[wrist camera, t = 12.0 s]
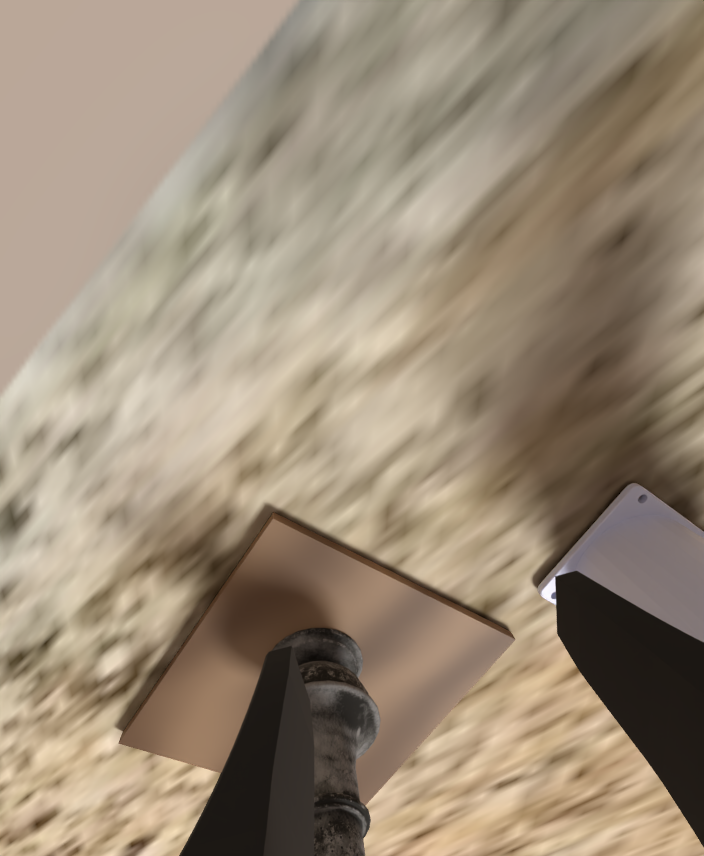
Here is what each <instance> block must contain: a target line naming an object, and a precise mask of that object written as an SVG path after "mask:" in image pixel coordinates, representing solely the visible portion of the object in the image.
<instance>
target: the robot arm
mask: <svg viewBox="0 0 704 856" xmlns="http://www.w3.org/2000/svg"><path fill="white" fill-rule="evenodd" d="M640 496H641V497H640ZM639 497H640V498H639ZM638 498H639V499H638ZM537 590H538V593H539V594H540V595H541V597H543V598H544V599H546V600H548V601H549V602H551V603H553V604H555V605H556V610H557V634H558V636H559V637H560V639H561V641H562V642H563V644H564V646H565V648H566V649H567V651H568V653H569V654H570V656H571V658H572V659H573V661H574V663H575V664H576V666H577V668H578V669H579V671H580V672H581V674H582V675H583V676H584V678H585V679H586V680H587V682H588V683H589V685H590V686H591V687H592V689H593V690H594V691H595V693H596V694H597V695H598V697H599V698H600V699H601V701H602V702H603V703H604V705H605V706H606V707H607V709H608V710H609V711H610V712H611V714H612V715H613V716H614V718H615V719H616V720H617V722H618V723H619V724H620V726H621V727H622V728H623V730H624V731H625V732H626V734H627V735H628V736H629V738H630V739H631V740H632V741H633V743H634V744H635V745H636V747H637V748H638V749H639V751H640V752H641V753H642V755H643V756H644V757H645V759H646V760H647V761H648V763H649V764H650V766H651V767H652V768H653V770H654V771H655V773H656V774H657V775H658V777H659V778H660V780H661V781H662V783H663V784H664V786H665V787H666V789H667V790H668V792H669V793H670V795H671V797H672V798H673V800H674V801H675V803H676V804H677V806H678V807H679V809H680V810H681V812H682V814H683V815H684V817H685V818H686V820H687V821H688V823H689V824H690V826H691V828H692V829H693V831H694V832H695V834H696V836H697V837H698V839H699V840H700V842H701V844H702V845H703V847H704V531H702V530H701V529H700V528H698V527H697V526H695V525H694V524H693V523H691V522H690V521H689V520H687V519H686V518H685V517H683V516H682V515H680V514H679V513H678V512H676V511H675V510H674V509H672V508H671V507H670V506H668V505H667V504H665V503H664V502H663V501H661V500H660V499H659V498H657V497H656V496H655V495H653V494H652V493H651V492H649V491H648V490H646V489H645V488H644V487H642V486H641V485H639V484H637V483H632V484H629V485H628V486H627V487H626V488H625V489H624V490H623V491H622V492H621V493H620V494H619V495H618V497H617V498H616V499H615V500H614V501H613V502H612V503H611V504H610V506H609V507H608V508H607V509H606V510H605V511H604V512H603V513H602V515H601V516H600V517H599V518H598V519H597V520H596V521H595V522H594V524H593V525H592V526H591V527H590V528H589V529H588V530H587V531H586V533H585V534H584V535H583V536H582V537H581V538H580V539H579V540H578V542H577V543H576V544H575V545H574V546H573V547H572V548H571V549H570V551H569V552H568V553H567V554H566V555H565V556H564V557H563V558H562V560H561V561H560V562H559V563H558V564H557V565H556V566H555V568H554V569H553V570H552V571H551V572H550V573H549V574H548V575H547V577H546V578H545V579H544V580H543V581H542V582H541V583H540V585H539V586H538V589H537ZM552 593H553V594H552ZM179 856H314V736H313V725H312V715H311V705H310V699H309V696H308V693H307V690H306V687H305V684H304V681H303V678H302V675H301V672H300V669H299V666H298V663H297V660H296V657H295V654H294V651H293V648H292V646H289V647H285V648H281V649H277V650H273V651H270V652H268V654H267V655H266V657H265V660H264V663H263V667H262V670H261V673H260V676H259V679H258V682H257V685H256V688H255V691H254V694H253V696H252V699H251V702H250V705H249V707H248V710H247V713H246V715H245V718H244V720H243V723H242V725H241V728H240V730H239V733H238V735H237V738H236V740H235V743H234V745H233V748H232V750H231V752H230V754H229V757H228V759H227V761H226V763H225V766H224V768H223V770H222V772H221V774H220V777H219V779H218V781H217V783H216V786H215V788H214V790H213V792H212V794H211V796H210V798H209V800H208V802H207V804H206V806H205V808H204V810H203V812H202V814H201V816H200V818H199V820H198V822H197V824H196V826H195V828H194V830H193V831H192V833H191V835H190V837H189V839H188V841H187V843H186V845H185V846H184V848H183V850H182V852H181V853H180V855H179Z"/></svg>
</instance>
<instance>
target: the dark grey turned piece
mask: <svg viewBox="0 0 704 856" xmlns="http://www.w3.org/2000/svg"><path fill="white" fill-rule="evenodd" d="M289 646H292V648H293V651H294V654H295V657H296V660H297V663H298V666H299V669H300V672H301V675H302V678H303V681H304V684H305V687H306V690H307V693H308V696H309V699H310V705H311V715H312V725H313V736H314V856H365V850H364V843H363V838H364V837H365V835H366V834H367V832H368V830H369V827H370V821H371V820H370V815H369V811H368V809H367V808H366V806H365V805H364V804H363V803H362V802H360V797H359V789H358V782H357V774H356V760H357V759H358V758H359V757H361V756H362V755H363V754H364V753H365V752H366V751H367V750H368V749H369V748H370V747H371V745H372V744H373V743H374V741H375V739H376V737H377V735H378V733H379V728H380V721H381V719H380V715H379V711H378V707H377V705H376V704H375V702H374V701H373V699H372V698H371V696H369V694H368V692H367V690H366V689H365V687H364V686H363V684H362V683H361V682H360V680H359V679H358V678H359V676H360V674H361V671H362V666H363V658H362V654H361V649H360V648H359V646H358V645H357V643H356V642H355V641H354V640H353V639H352V638H351V637H349V636H348V635H347V634H345V633H342V632H340V631H338V630H334V629H329V628H309V629H305V630H301V631H297V632H295V633H293V634H291V635H289V636H287V637H285V638H284V639H283V640H282V641H280V642H279V643H278V644H277V645H276V646H275V647H274V648H273V650H277V649H281V648H285V647H289ZM273 650H272V651H273Z"/></svg>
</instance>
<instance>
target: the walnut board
mask: <svg viewBox="0 0 704 856" xmlns="http://www.w3.org/2000/svg"><path fill="white" fill-rule="evenodd" d="M309 628H329V629H334V630H338V631H340V632H342V633H345V634H347V635H348V636H349V637H351V638H352V639H353V640H354V641H355V642H356V643H357V645H358V646H359V648H360V649H361V654H362V658H363V666H362V671H361V674H360V676H359V678H358V679H359V680H360V682H361V683H362V684H363V686H364V687H365V689H366V690H367V692H368V694H369V696H371V698H372V699H373V701H374V702H375V704H376V705H377V707H378V711H379V715H380V719H381V721H380V728H379V733H378V735H377V737H376V739H375V741H374V743H373V744H372V745H371V747H370V748H369V749H368V750H367V751H366V752H365V753H364V754H363V755H362V756H361V757H359V758H358V759H357V760H356V774H357V782H358V789H359V797H360V802H362V803H363V804H364V805H366V804H367V803H368V802H369V801H370V800H371V799H372V798H373V797H374V795H375V794H376V793H377V792H378V791H379V790H380V789H381V788H382V787H383V785H384V784H385V783H386V782H387V781H388V780H389V779H390V778H391V777H392V776H393V774H394V773H395V772H396V771H397V770H398V769H399V768H400V767H401V766H402V764H403V763H404V762H405V761H406V760H407V759H408V758H409V757H410V756H411V755H412V753H413V752H414V751H415V750H416V749H417V748H418V747H419V746H420V745H421V743H422V742H423V741H424V740H425V739H426V738H427V737H428V736H429V735H430V734H431V732H432V731H433V730H434V729H435V728H436V727H437V726H438V725H439V724H440V722H441V721H442V720H443V719H444V718H445V717H446V716H447V715H448V714H449V713H450V711H451V710H452V709H453V708H454V707H455V706H456V705H457V704H458V703H459V701H460V700H461V699H462V698H463V697H464V696H465V695H466V694H467V693H468V692H469V690H470V689H471V688H472V687H473V686H474V685H475V684H476V683H477V682H478V680H479V679H480V678H481V677H482V676H483V675H484V674H485V673H486V672H487V671H488V669H489V668H490V667H491V666H492V665H493V664H494V663H495V662H496V661H497V659H498V658H499V657H500V656H501V655H502V654H503V653H504V652H505V651H506V650H507V648H508V647H509V646H510V645H511V644H512V643H513V642H514V641H515V638H514V636H513V635H512V633H511V632H510V631H508V630H506V629H504V628H503V627H501V626H499V625H497V624H495V623H493V622H491V621H489V620H487V619H485V618H483V617H481V616H479V615H477V614H475V613H473V612H471V611H469V610H467V609H465V608H463V607H461V606H459V605H457V604H455V603H453V602H451V601H449V600H447V599H445V598H443V597H441V596H439V595H437V594H435V593H433V592H431V591H429V590H427V589H425V588H423V587H421V586H419V585H417V584H415V583H413V582H411V581H409V580H407V579H405V578H403V577H401V576H399V575H397V574H395V573H393V572H391V571H389V570H387V569H385V568H383V567H381V566H380V565H378V564H376V563H374V562H372V561H370V560H368V559H366V558H364V557H362V556H360V555H358V554H356V553H354V552H352V551H350V550H348V549H346V548H344V547H342V546H340V545H338V544H336V543H334V542H332V541H330V540H328V539H326V538H324V537H322V536H320V535H318V534H316V533H314V532H312V531H310V530H308V529H306V528H304V527H302V526H300V525H298V524H296V523H294V522H292V521H290V520H288V519H286V518H284V517H282V516H280V515H278V514H276V513H274V512H273V514H272V515H271V517H270V518H269V519H268V521H267V522H266V524H265V525H264V527H263V528H262V530H261V531H260V533H259V534H258V535H257V537H256V538H255V540H254V541H253V543H252V544H251V546H250V547H249V549H248V550H247V552H246V553H245V554H244V556H243V557H242V559H241V560H240V562H239V563H238V565H237V566H236V568H235V569H234V571H233V572H232V573H231V575H230V576H229V578H228V579H227V581H226V582H225V584H224V585H223V587H222V588H221V589H220V591H219V592H218V594H217V595H216V597H215V598H214V600H213V601H212V603H211V604H210V606H209V607H208V608H207V610H206V611H205V613H204V614H203V616H202V617H201V619H200V620H199V622H198V623H197V625H196V626H195V627H194V629H193V630H192V632H191V633H190V635H189V636H188V638H187V639H186V641H185V642H184V643H183V645H182V646H181V648H180V649H179V651H178V652H177V654H176V655H175V657H174V658H173V660H172V661H171V662H170V664H169V665H168V667H167V668H166V670H165V671H164V673H163V674H162V676H161V677H160V679H159V680H158V681H157V683H156V684H155V686H154V687H153V689H152V690H151V692H150V693H149V695H148V696H147V697H146V699H145V700H144V702H143V703H142V705H141V706H140V708H139V709H138V711H137V712H136V714H135V715H134V716H133V718H132V719H131V721H130V722H129V724H128V725H127V727H126V728H125V730H124V731H123V733H122V735H121V738H120V741H119V744H122V745H126V746H129V747H133V748H136V749H140V750H143V751H147V752H150V753H154V754H157V755H161V756H164V757H167V758H171V759H174V760H178V761H181V762H185V763H188V764H192V765H195V766H199V767H202V768H205V769H209V770H212V771H216V772H219V773H221V772H222V770H223V768H224V766H225V763H226V761H227V759H228V757H229V754H230V752H231V750H232V748H233V745H234V743H235V740H236V738H237V735H238V733H239V730H240V728H241V725H242V723H243V720H244V718H245V715H246V713H247V710H248V707H249V705H250V702H251V699H252V696H253V694H254V691H255V688H256V685H257V682H258V679H259V676H260V673H261V670H262V667H263V663H264V660H265V657H266V655H267V654H268V652H270V651H272V650H273V648H274V647H275V646H276V645H277V644H278V643H279V642H280V641H282V640H283V639H284V638H285V637H287V636H289V635H291V634H293V633H295V632H297V631H301V630H305V629H309Z"/></svg>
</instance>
